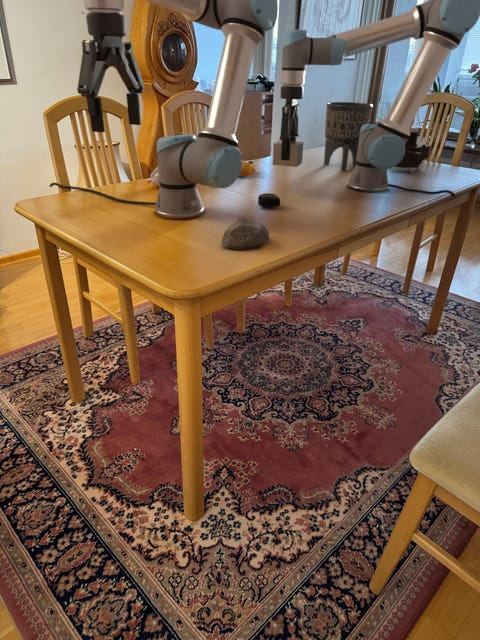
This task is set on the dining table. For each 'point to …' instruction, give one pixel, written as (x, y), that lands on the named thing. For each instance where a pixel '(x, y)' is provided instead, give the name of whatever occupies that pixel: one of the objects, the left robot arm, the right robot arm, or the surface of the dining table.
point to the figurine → (154, 177)
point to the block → (294, 154)
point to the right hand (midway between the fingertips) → (288, 157)
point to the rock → (245, 234)
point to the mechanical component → (413, 152)
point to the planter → (344, 129)
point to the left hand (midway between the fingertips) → (117, 128)
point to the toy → (247, 168)
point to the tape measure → (269, 200)
